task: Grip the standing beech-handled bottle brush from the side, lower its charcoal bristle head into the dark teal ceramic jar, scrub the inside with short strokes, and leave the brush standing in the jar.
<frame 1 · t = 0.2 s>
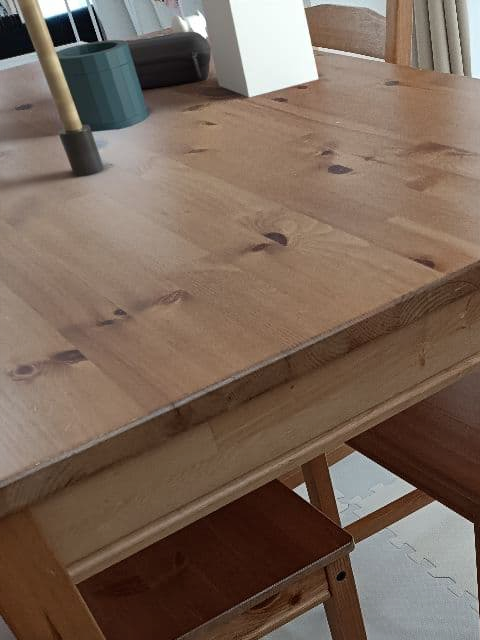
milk: (268, 83, 120), on the table
brush: (90, 174, 94), on the table
elephant figurine: (194, 51, 146), on the table
glasses case: (162, 86, 127), on the table
jar: (113, 121, 112), on the table
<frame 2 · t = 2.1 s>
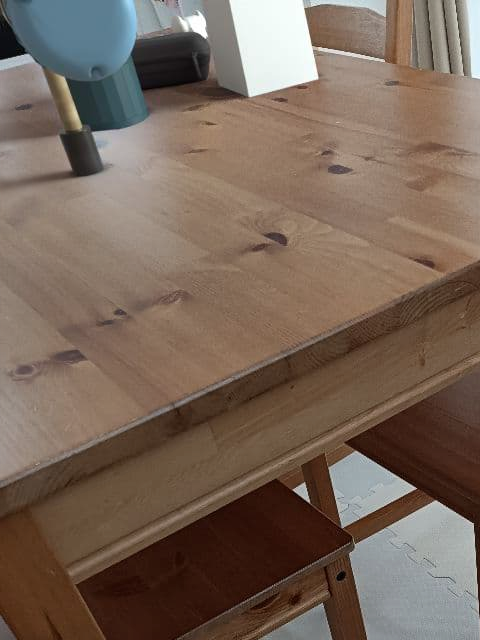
nothing on the table moved.
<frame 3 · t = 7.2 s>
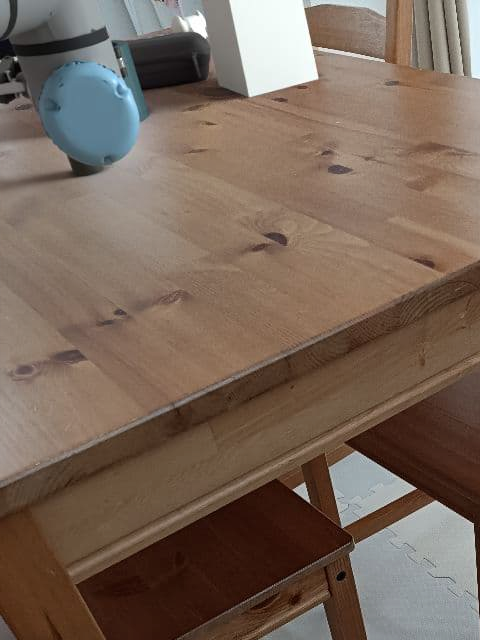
hand: (43, 52, 89), 12 cm above the table, tool horizontal, fingers closed on brush, 2 cm apart
brush: (90, 174, 94), on the table, touching gripper
everything else where it was.
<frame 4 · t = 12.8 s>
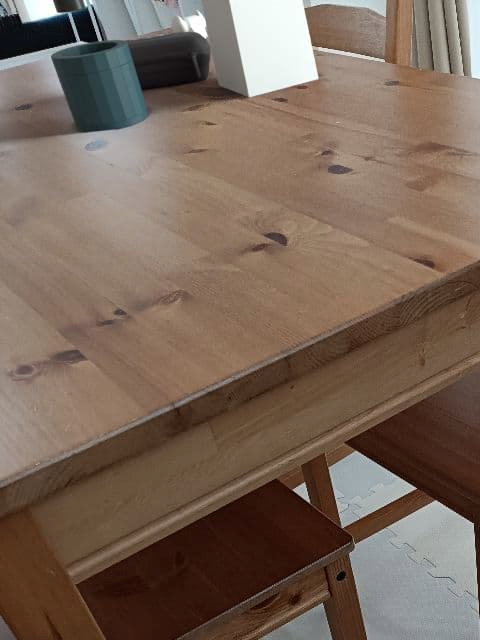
brush: (71, 10, 99), point 14 cm above the table, touching gripper
everything else where it was.
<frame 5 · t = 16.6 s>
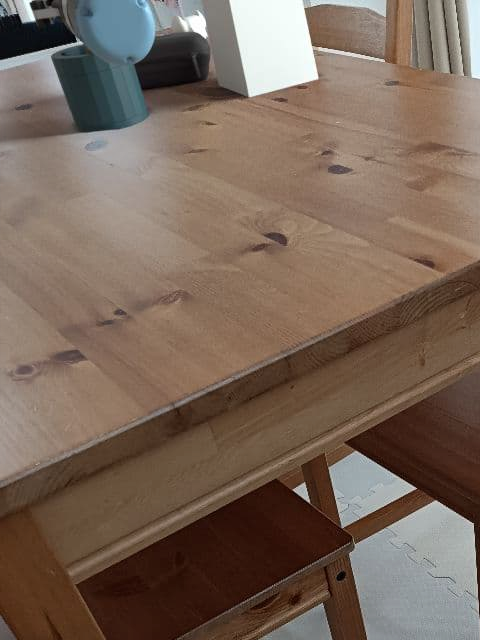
brush: (109, 98, 110), point 3 cm above the table, touching gripper
everything else where it was.
when the fingers open (13 cm above the table, at t = 18.9 s): brush stays where it is, resting on jar.
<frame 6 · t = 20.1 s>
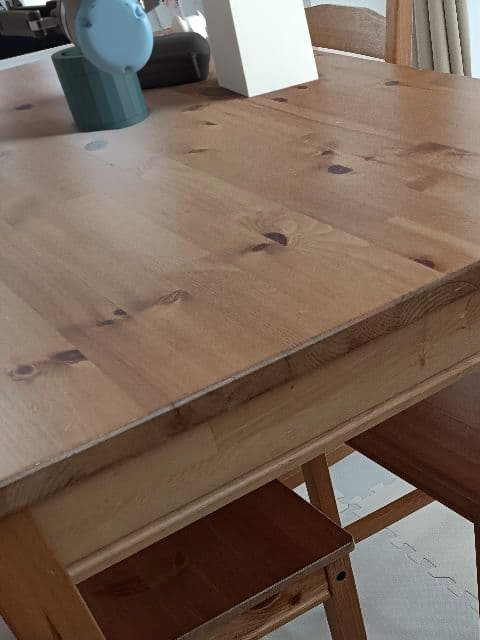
hand: (71, 2, 105), 14 cm above the table, tool horizontal, fingers open, 13 cm apart
brush: (111, 115, 111), point 1 cm above the table, touching jar
jar: (113, 121, 112), on the table, touching brush
everything else where it was.
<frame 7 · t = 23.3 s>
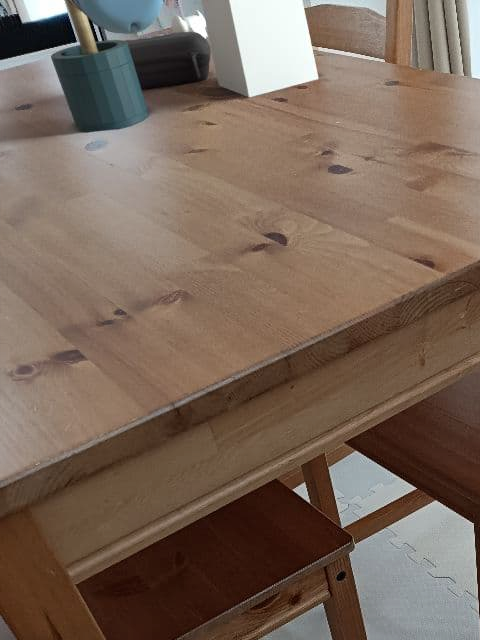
nothing on the table moved.
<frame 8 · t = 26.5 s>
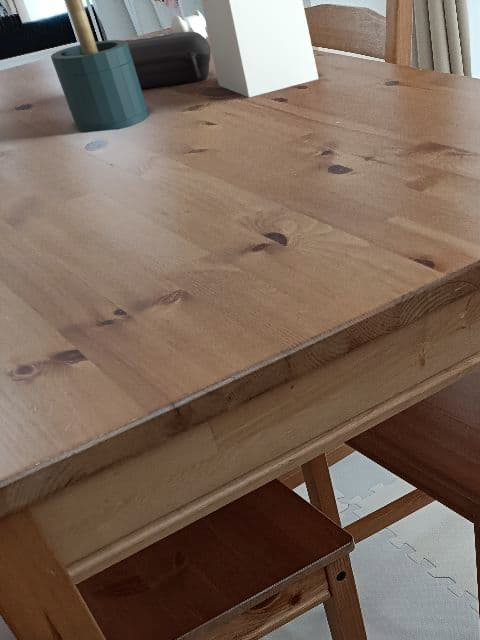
nothing on the table moved.
at the end: brush inside the target area in the jar (0.0 cm from its centre), point 0.8 cm above the jar's base; jar tilted 0°; jar moved 0.0 cm from its start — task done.
